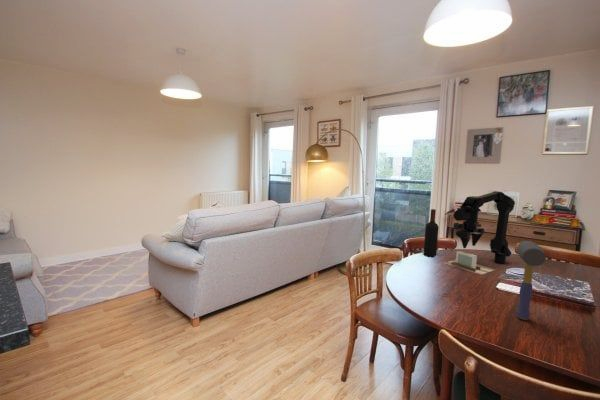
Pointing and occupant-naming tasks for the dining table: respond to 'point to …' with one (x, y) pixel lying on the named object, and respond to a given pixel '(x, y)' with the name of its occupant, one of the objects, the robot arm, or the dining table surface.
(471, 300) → the dining table surface
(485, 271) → the display stand
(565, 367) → the dining table surface
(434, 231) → the wine bottle
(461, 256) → the white block
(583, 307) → the dining table surface
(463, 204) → the robot arm
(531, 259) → the rubber mallet
